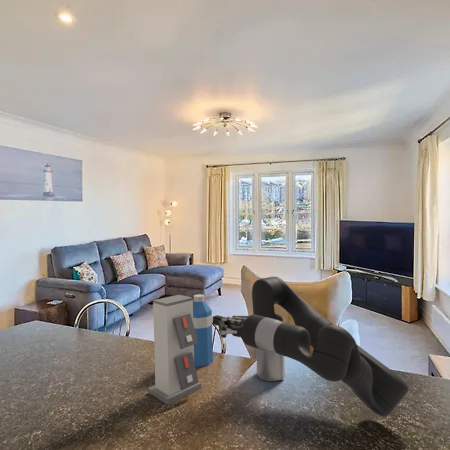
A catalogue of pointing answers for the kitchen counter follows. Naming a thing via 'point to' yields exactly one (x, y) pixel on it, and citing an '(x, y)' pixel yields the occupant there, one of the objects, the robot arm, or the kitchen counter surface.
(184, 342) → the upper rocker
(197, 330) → the water bottle
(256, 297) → the robot arm
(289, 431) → the kitchen counter surface
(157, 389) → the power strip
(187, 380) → the lower rocker
